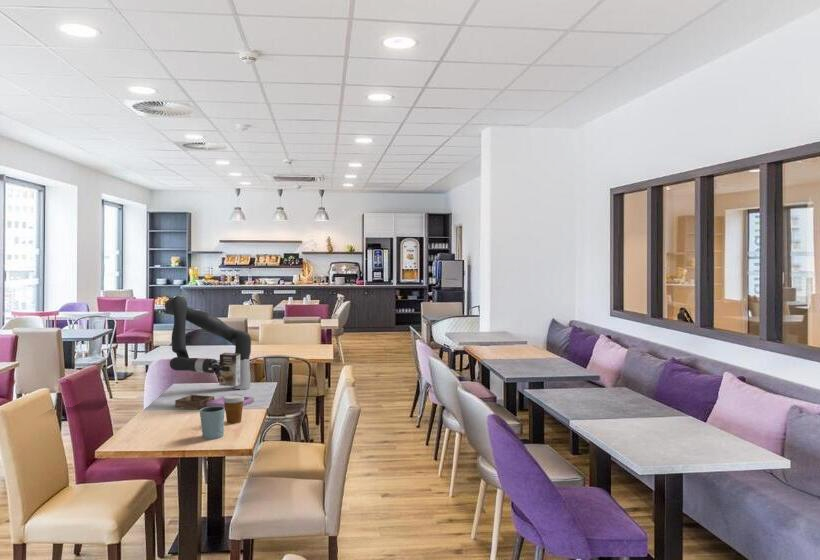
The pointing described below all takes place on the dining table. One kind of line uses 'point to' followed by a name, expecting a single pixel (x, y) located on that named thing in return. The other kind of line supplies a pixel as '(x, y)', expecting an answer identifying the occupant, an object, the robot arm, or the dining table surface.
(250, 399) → the tray
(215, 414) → the teal cup
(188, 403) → the holder
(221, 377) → the coffee box
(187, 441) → the dining table surface
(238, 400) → the disposable coffee cup
